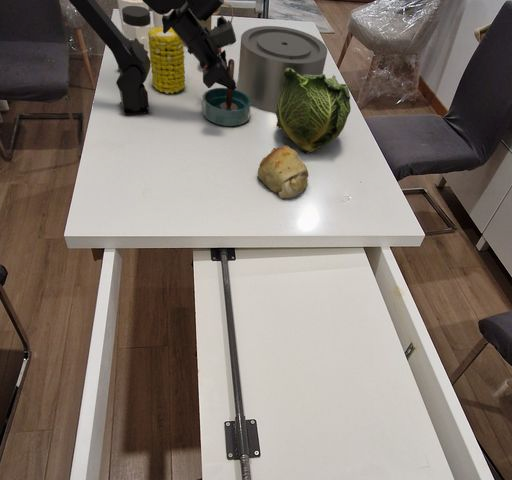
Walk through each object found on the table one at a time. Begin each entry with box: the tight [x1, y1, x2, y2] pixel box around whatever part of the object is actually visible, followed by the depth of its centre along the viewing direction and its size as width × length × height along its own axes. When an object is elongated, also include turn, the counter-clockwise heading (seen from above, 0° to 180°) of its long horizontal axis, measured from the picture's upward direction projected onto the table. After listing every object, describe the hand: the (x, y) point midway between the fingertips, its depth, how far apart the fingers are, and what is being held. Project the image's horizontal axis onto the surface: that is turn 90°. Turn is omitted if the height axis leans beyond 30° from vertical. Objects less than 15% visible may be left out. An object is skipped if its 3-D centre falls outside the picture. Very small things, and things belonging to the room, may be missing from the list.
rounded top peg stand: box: [220, 58, 238, 110], centre depth 112 cm, size 5×5×14 cm
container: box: [236, 25, 328, 114], centre depth 126 cm, size 25×25×13 cm
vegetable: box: [275, 68, 352, 155], centre depth 109 cm, size 20×19×20 cm
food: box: [148, 26, 186, 95], centre depth 120 cm, size 15×12×10 cm
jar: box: [122, 6, 152, 62], centre depth 130 cm, size 9×8×12 cm
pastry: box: [257, 145, 309, 200], centre depth 101 cm, size 14×12×8 cm
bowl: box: [202, 87, 252, 127], centre depth 118 cm, size 13×13×4 cm
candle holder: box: [116, 0, 150, 35], centre depth 136 cm, size 10×10×12 cm
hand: (234, 87), depth 112 cm, fingers closed on rounded top peg stand
